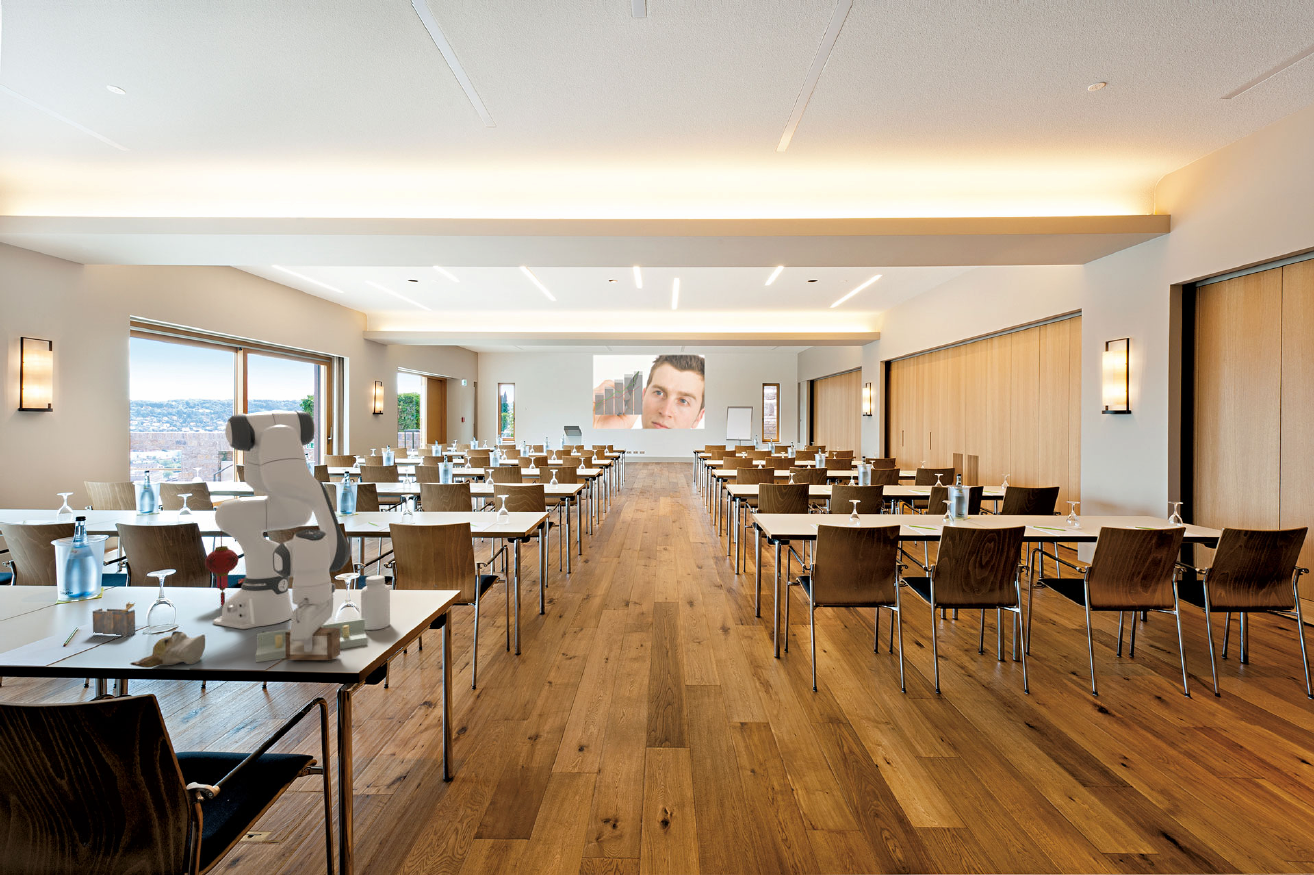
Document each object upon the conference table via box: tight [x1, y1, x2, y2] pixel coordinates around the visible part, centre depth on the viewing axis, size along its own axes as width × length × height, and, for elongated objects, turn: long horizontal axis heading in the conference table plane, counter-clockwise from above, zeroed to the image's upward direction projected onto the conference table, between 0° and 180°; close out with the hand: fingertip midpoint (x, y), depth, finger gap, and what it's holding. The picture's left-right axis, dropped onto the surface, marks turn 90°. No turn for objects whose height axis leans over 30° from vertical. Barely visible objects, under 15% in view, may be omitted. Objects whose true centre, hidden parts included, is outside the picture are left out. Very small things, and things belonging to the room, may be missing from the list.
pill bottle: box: [360, 574, 391, 631], centre depth 190 cm, size 8×8×15 cm
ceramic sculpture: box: [129, 630, 206, 668], centre depth 162 cm, size 11×9×15 cm
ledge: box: [255, 618, 368, 663], centre depth 172 cm, size 26×8×5 cm, turn 119°
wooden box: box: [285, 628, 341, 661], centre depth 163 cm, size 12×4×7 cm, turn 89°
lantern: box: [204, 529, 239, 606], centre depth 214 cm, size 10×10×30 cm
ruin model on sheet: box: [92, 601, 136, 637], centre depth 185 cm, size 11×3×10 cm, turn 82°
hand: (313, 646), depth 163 cm, fingers closed on wooden box, 4 cm apart
